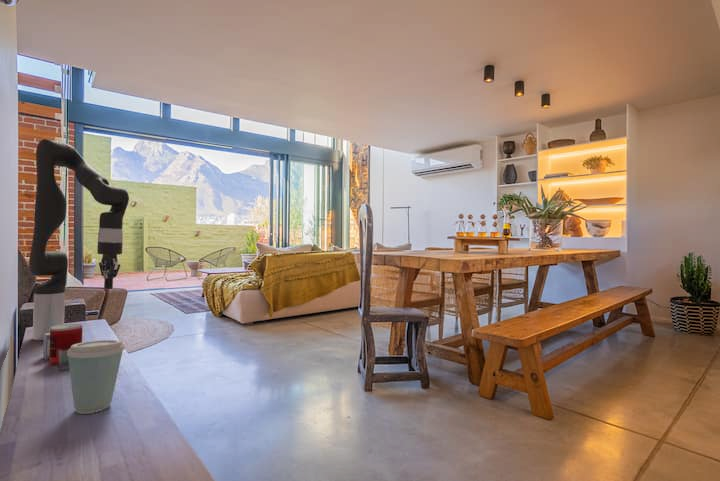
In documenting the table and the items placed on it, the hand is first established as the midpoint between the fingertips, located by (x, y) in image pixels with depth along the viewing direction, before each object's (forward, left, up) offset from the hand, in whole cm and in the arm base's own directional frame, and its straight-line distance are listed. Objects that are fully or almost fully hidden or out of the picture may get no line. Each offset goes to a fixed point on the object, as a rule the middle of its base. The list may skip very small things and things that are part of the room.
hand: (108, 288), depth 135 cm
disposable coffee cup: (+56, -21, -21) cm, 64 cm away
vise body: (+19, -15, -20) cm, 31 cm away
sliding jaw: (0, -15, -20) cm, 25 cm away
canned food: (+12, -15, -21) cm, 28 cm away
